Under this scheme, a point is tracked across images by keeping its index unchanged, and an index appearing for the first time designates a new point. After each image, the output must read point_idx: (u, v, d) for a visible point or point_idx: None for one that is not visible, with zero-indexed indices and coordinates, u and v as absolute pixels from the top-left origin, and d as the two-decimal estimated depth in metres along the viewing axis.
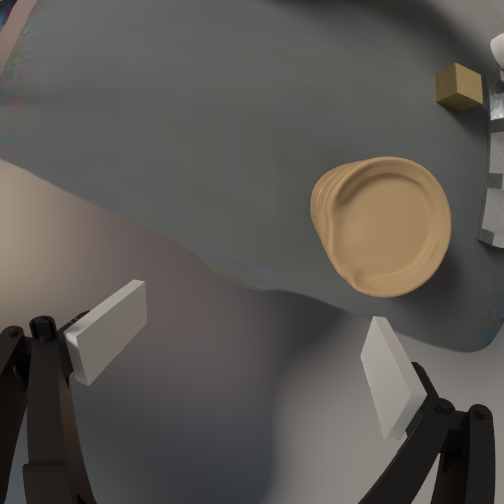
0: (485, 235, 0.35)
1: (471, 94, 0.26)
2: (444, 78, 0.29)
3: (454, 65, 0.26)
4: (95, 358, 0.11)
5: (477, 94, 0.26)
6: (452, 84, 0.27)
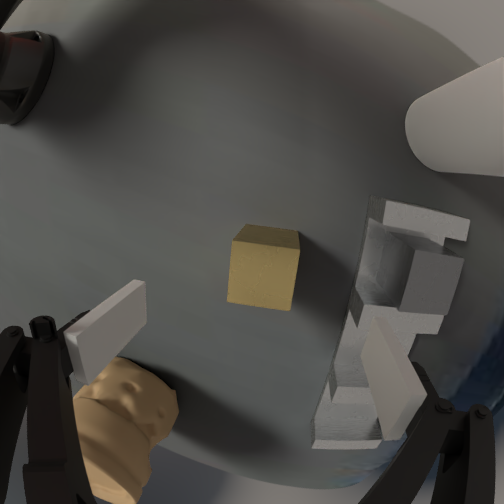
0: (313, 430, 0.31)
1: (263, 298, 0.22)
2: None
3: None
4: (95, 358, 0.11)
5: (278, 295, 0.22)
6: None
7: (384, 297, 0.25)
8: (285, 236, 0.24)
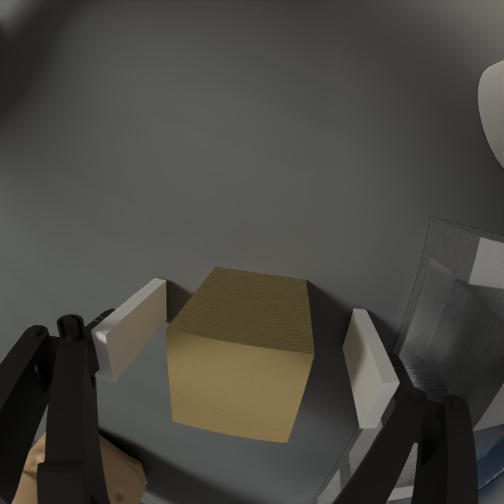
0: None
1: (236, 425, 0.10)
2: None
3: None
4: (121, 356, 0.12)
5: (266, 424, 0.10)
6: None
7: (438, 384, 0.13)
8: (283, 301, 0.12)
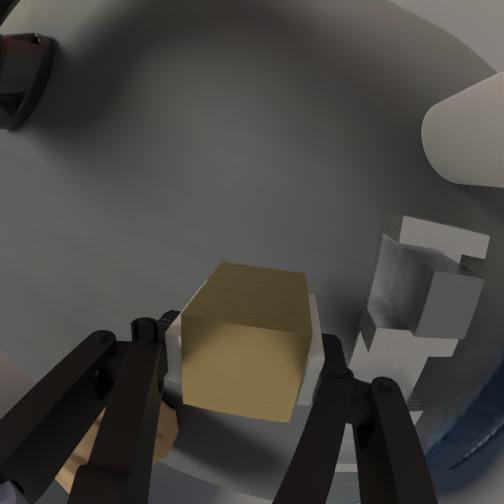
0: None
1: (242, 405, 0.11)
2: None
3: None
4: None
5: (270, 403, 0.11)
6: None
7: (397, 319, 0.23)
8: (285, 292, 0.14)
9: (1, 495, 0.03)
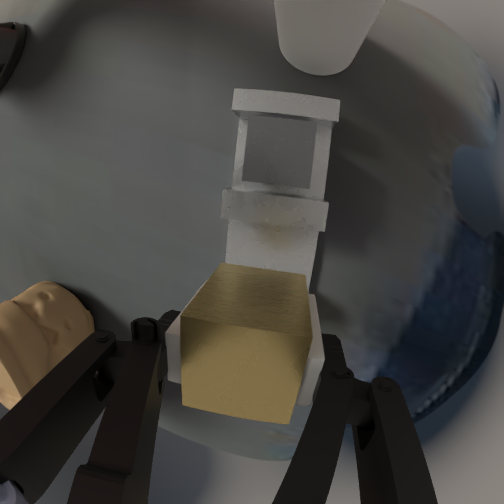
0: None
1: (242, 407, 0.11)
2: None
3: None
4: None
5: (269, 405, 0.11)
6: None
7: (256, 191, 0.26)
8: (285, 293, 0.14)
9: (2, 495, 0.03)
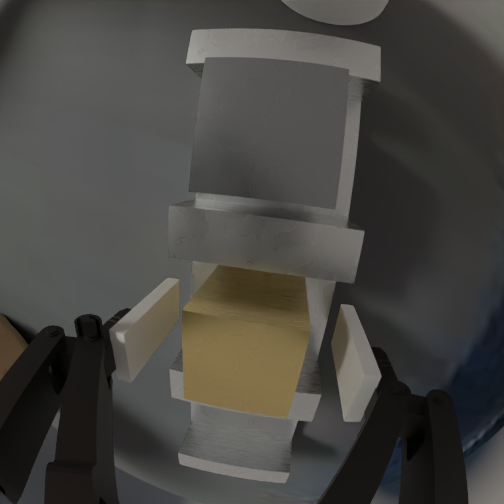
0: None
1: (242, 400, 0.12)
2: None
3: None
4: (138, 355, 0.12)
5: (269, 398, 0.12)
6: None
7: (233, 206, 0.15)
8: (284, 289, 0.14)
9: None
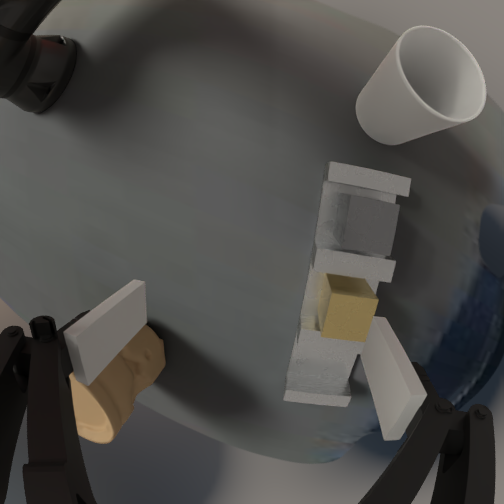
0: (285, 383, 0.37)
1: (348, 334, 0.28)
2: (325, 293, 0.31)
3: (330, 295, 0.28)
4: (95, 358, 0.11)
5: (359, 331, 0.28)
6: (323, 317, 0.29)
7: (338, 247, 0.31)
8: (361, 285, 0.30)
9: None
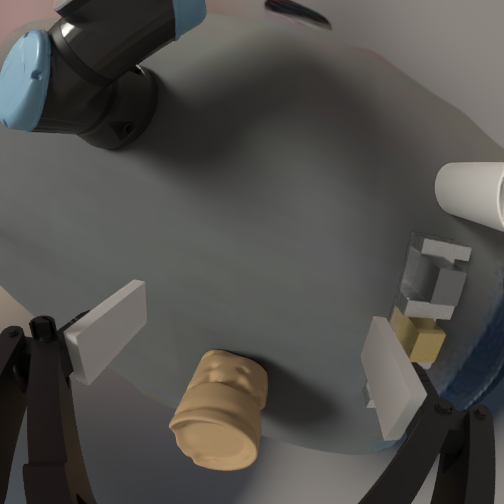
0: (366, 394, 0.44)
1: (424, 358, 0.35)
2: (407, 329, 0.38)
3: (417, 334, 0.34)
4: (95, 358, 0.11)
5: (431, 356, 0.34)
6: (408, 348, 0.36)
7: (418, 296, 0.38)
8: (430, 322, 0.37)
9: None
